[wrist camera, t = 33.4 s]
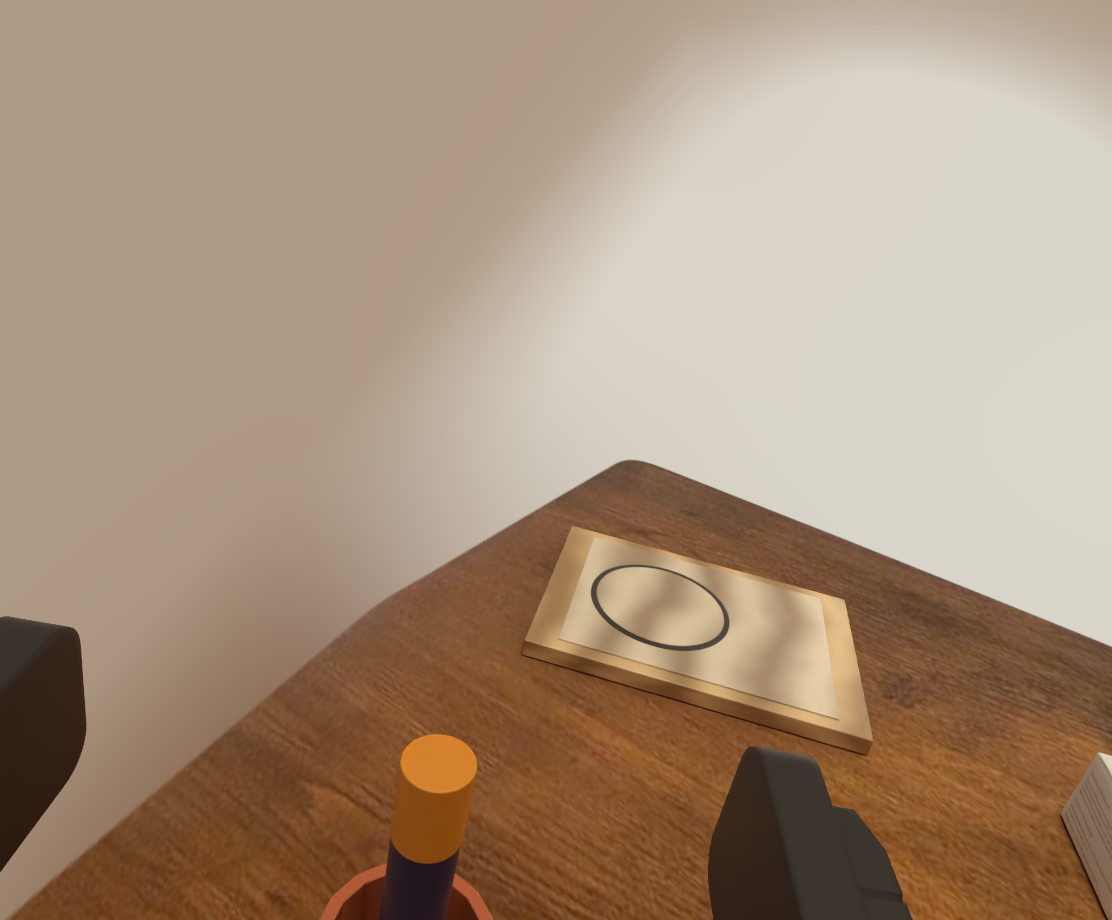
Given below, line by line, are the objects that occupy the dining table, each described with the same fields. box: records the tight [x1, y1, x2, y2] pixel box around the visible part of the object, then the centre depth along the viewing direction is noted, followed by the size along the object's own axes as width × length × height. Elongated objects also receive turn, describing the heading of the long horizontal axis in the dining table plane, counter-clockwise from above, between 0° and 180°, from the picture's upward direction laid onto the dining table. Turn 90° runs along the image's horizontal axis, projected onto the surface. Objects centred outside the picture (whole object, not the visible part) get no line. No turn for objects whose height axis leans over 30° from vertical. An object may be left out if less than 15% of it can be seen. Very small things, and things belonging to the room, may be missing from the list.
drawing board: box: [522, 526, 873, 755], centre depth 58 cm, size 22×16×1 cm
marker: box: [379, 734, 477, 920], centre depth 27 cm, size 2×2×14 cm
